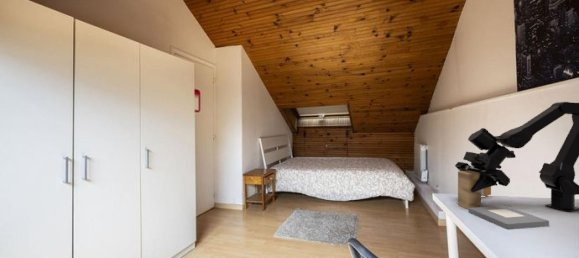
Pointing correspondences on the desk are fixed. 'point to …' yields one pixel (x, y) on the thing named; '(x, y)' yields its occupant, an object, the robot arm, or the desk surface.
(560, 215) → the desk surface
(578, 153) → the robot arm
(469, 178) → the oak block
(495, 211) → the baseplate
